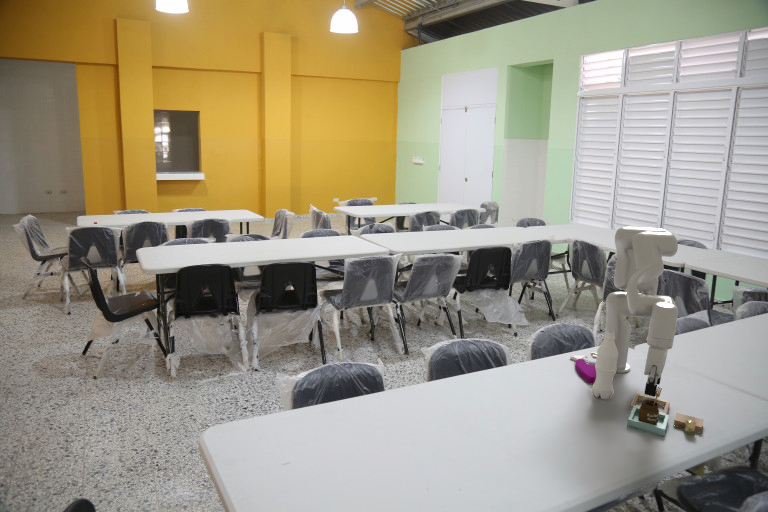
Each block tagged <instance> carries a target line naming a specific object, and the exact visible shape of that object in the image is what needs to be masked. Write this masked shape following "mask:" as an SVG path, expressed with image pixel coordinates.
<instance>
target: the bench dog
mask: <svg viewBox="0 0 768 512" xmlns="http://www.w3.org/2000/svg"><path fill="white" fill-rule="evenodd" d="M695 426H696V422H695V421H694V420H692V419H686V421H685V427H684V429H683V433H685V434H686V435H689V436H694V435H695V433H696V432H695Z"/></svg>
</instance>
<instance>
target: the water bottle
mask: <svg viewBox="0 0 768 512" xmlns="http://www.w3.org/2000/svg"><path fill="white" fill-rule="evenodd" d="M604 335H605V336H603V337H605V339H604V338H603V341H602V342H601V343H600V345H599V347H598V348H597V349H596V353H597V358H596V360H595V364H594V365H595V368H596V380H595V383H594V384H592V392H593V396H594V397H596V398H599V397H600V399H602V400H608V399H611V398H612V397H613V395H614V391H615V390H614V385H613V381H614V376H615V375H616V374H617V373H616V370H617V368H616V367H617V359H618V350H617V347H616V345H615V342H614V339H615V336H614V335H615V331H613V330H606V334H605V333H604Z"/></svg>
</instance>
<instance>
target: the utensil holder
mask: <svg viewBox="0 0 768 512" xmlns="http://www.w3.org/2000/svg"><path fill="white" fill-rule="evenodd" d="M662 390H663V388H661V387H660V386H657V390H656V396H655V398H656V399H655V401H653V400H650V399H645V400H643V401H641V405H640V409H639V416H638V420H639V421H641V422H645V423H648V424H652V425H657V423H658V417H659V412H660V410H659V409H660V406H659V404H658V403H657V402H656V400H657V399H658V398H659V397H660V396H661V393H662ZM643 395H644V396H646V394H643Z"/></svg>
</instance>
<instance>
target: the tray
mask: <svg viewBox="0 0 768 512" xmlns="http://www.w3.org/2000/svg"><path fill="white" fill-rule="evenodd" d="M639 409H640V407H636V406H634V407H633V409H632V411H630V414H629V416H628V419H627V423H626V426H627V427H628V428H633V429H636V430H639V431H642V432H646V433H649V434H653V435H657V436H661V437H665V434H666V431H667V427H668V423H669V418H670V415H669V414H667V415H666V414H662V413H659V417H658V423H657V425H652V424H648V423H645V422H641V421H639V420H638V416H639Z"/></svg>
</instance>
